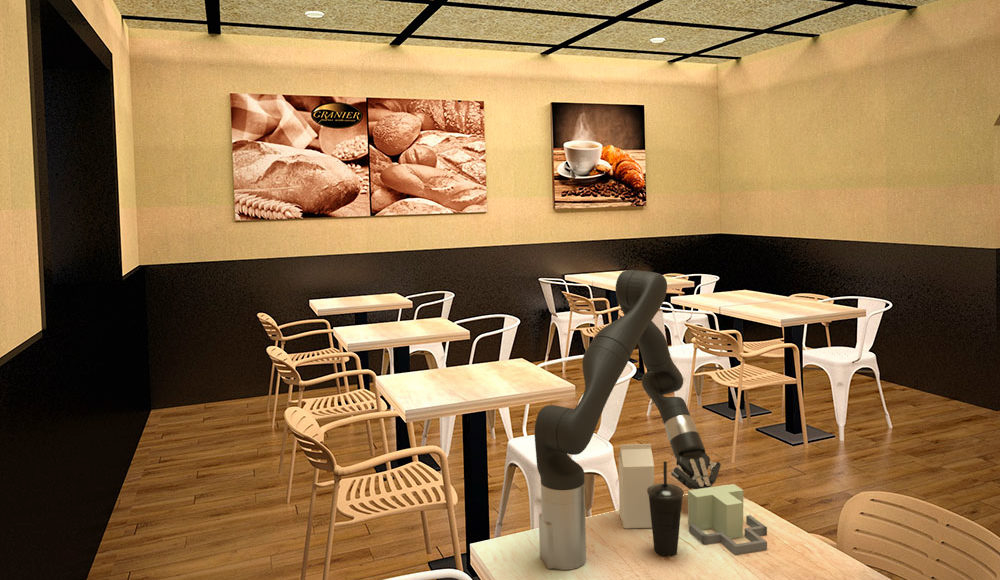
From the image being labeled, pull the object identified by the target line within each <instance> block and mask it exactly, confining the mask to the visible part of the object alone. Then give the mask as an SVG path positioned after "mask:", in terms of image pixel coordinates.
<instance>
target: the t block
mask: <svg viewBox="0 0 1000 580" xmlns="http://www.w3.org/2000/svg"><path fill="white" fill-rule="evenodd" d="M687 524H688V525H689V524H694V525H695V526H697V527H698V528H699V529H700V530H701V531H702V530H708V529H713V530H714V531H715V532H716V533H718V532H723V533H724V534H725V535H727V536H728V537H729V538H730V539H731V540H734V539H739V538H743V536H744V535H743V534H744V532H743V530H744V489H742V488H741V487H739V486H738V485H736V484H735V483H732V484H723V485H717V486H711V487H708V488H701V489H688V490H687Z"/></svg>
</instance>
